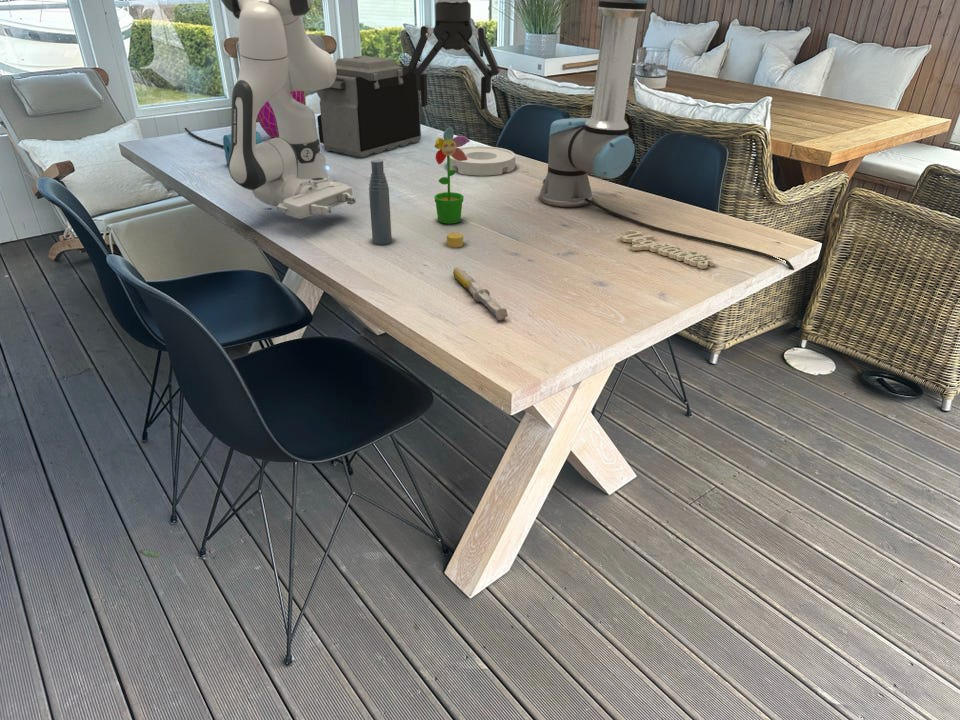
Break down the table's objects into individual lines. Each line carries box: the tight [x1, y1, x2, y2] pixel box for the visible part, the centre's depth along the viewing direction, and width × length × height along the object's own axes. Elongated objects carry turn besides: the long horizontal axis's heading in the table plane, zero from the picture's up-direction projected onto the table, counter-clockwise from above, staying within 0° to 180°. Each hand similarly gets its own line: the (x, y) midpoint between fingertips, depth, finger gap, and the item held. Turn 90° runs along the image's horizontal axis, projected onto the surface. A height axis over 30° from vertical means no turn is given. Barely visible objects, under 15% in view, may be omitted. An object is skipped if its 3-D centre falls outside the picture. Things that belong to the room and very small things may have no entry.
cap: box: [446, 232, 464, 248], centre depth 171 cm, size 4×4×2 cm
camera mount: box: [222, 130, 264, 166], centre depth 226 cm, size 18×10×10 cm, turn 35°
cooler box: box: [315, 55, 422, 159], centre depth 250 cm, size 37×22×30 cm, turn 144°
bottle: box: [368, 158, 393, 246], centre depth 167 cm, size 5×5×20 cm
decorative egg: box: [256, 91, 307, 139], centre depth 257 cm, size 19×19×30 cm
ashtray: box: [450, 145, 516, 177], centre depth 233 cm, size 23×23×4 cm
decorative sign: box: [621, 229, 715, 270], centre depth 168 cm, size 26×1×10 cm
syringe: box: [452, 266, 509, 321], centre depth 145 cm, size 25×4×3 cm, turn 21°
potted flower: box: [433, 126, 471, 225], centre depth 180 cm, size 9×8×25 cm
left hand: (341, 205), depth 175 cm, fingers open, 8 cm apart
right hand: (453, 107), depth 155 cm, fingers open, 13 cm apart
